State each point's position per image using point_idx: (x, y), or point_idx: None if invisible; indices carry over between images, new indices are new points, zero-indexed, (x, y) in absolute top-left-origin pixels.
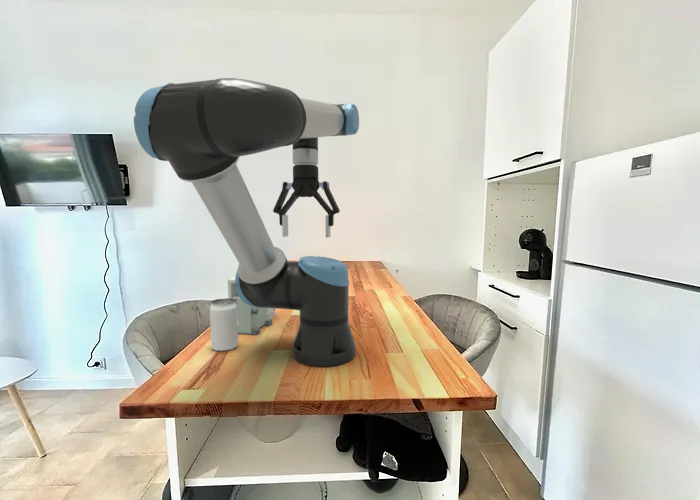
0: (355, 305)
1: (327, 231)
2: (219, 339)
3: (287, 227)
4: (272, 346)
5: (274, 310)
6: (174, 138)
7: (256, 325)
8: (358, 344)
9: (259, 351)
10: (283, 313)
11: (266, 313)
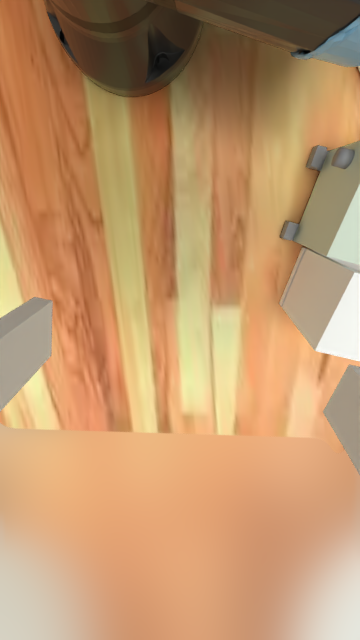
0: (100, 372)
1: (12, 315)
2: None
3: (358, 453)
4: (265, 57)
5: (283, 305)
6: None
7: (320, 181)
8: (56, 81)
9: None
10: (259, 317)
11: (303, 239)
